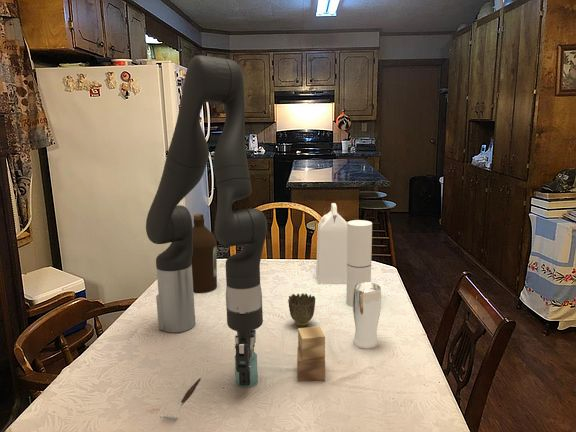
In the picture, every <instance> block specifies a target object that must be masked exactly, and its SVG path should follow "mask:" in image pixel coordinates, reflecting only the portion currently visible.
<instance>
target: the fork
mask: <svg viewBox="0 0 576 432" xmlns="http://www.w3.org/2000/svg"><path fill="white" fill-rule="evenodd" d="M200 381H201V377H200V378H198V379H197V380H196V381H195V382H194V383H193V384H192V385H191V387H190V388H189V389H188V390H187V391H186V393H185V394H184V396H183V397H182V399H181V402H180V403H179V405H178V406H176V408H174V410H175V411H181V406H183V404H184V403H185V402H186V401H187V400H188V399H189V398H190V397H191V396H192V395H193V394H194V391H195V390H196V388H197V386H198V384H199V382H200ZM159 418H160V419H161V418H163V419H170V420H175V419H178V418H180V416H179V415H172V414H166V415H163V416H159Z"/></svg>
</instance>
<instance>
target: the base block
mask: <svg viewBox="0 0 576 432" xmlns="http://www.w3.org/2000/svg"><path fill="white" fill-rule="evenodd" d="M296 354H297V356H296V358H297V359H296V368H297V369H296V373H297V374H296V375H297V376H296V378H297V379H296V380H297V382H326V357H325V358H318V359H308V360H302V358H301V355H300V352H299V350H298V348H297V353H296Z"/></svg>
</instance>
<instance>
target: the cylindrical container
mask: <svg viewBox="0 0 576 432" xmlns="http://www.w3.org/2000/svg"><path fill="white" fill-rule="evenodd" d="M346 222H347V284H346V302H345V303H346V305H347V306H349V307H351V308H353V304H352V301H353V290H354V285H355V284H357V283H362V282H370V283H372V247H373V246H372V245H373V244H372V243H373V222H372V221H369V220H364V219H362V220H361V219H353V220H349V221H346Z"/></svg>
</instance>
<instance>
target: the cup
mask: <svg viewBox="0 0 576 432" xmlns="http://www.w3.org/2000/svg"><path fill="white" fill-rule="evenodd" d="M287 303H288V308H289V315H290V317H291V319H292V320H293V321H295V323H294V324H295V326H296V327H298V328H307V327H308V326H309V323H310V321H311V320H312V318H313V316H314V314H315V309H316V308H315V307H316V297H315V295H312V294H308V293H301V294H300V293H297V294H294V293H291V295H289V296H288V299H287Z"/></svg>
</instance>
